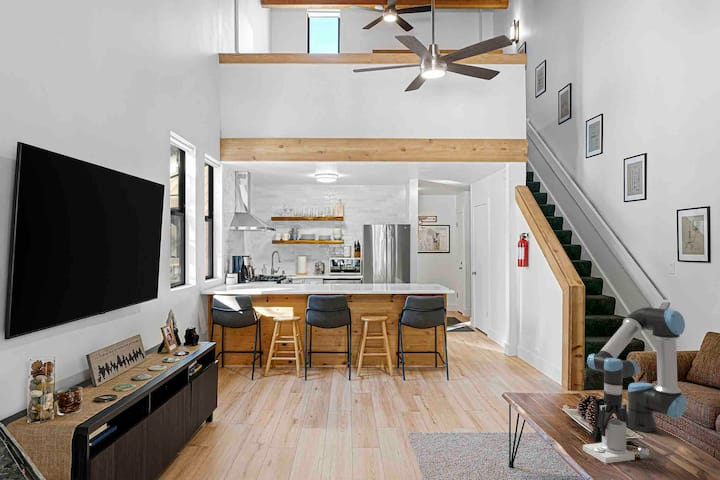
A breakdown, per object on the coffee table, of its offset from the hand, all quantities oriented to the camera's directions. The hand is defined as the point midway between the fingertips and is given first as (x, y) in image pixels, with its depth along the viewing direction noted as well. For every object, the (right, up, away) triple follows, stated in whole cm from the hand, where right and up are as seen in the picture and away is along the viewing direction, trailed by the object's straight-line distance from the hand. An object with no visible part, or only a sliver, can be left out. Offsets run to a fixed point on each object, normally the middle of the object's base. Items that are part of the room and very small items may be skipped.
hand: (612, 441), depth 220 cm
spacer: (+13, -6, -3) cm, 14 cm away
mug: (0, -2, 0) cm, 2 cm away
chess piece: (+4, -6, +18) cm, 19 cm away
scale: (-3, -6, -1) cm, 6 cm away
